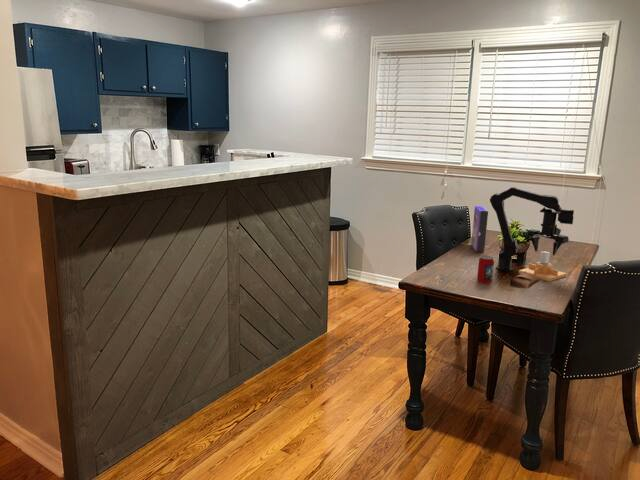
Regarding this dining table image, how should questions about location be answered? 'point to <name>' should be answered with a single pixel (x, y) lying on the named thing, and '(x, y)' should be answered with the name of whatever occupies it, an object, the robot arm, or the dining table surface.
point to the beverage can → (485, 269)
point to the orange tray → (543, 272)
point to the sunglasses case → (523, 280)
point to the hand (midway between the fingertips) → (544, 253)
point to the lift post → (544, 257)
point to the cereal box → (479, 228)
